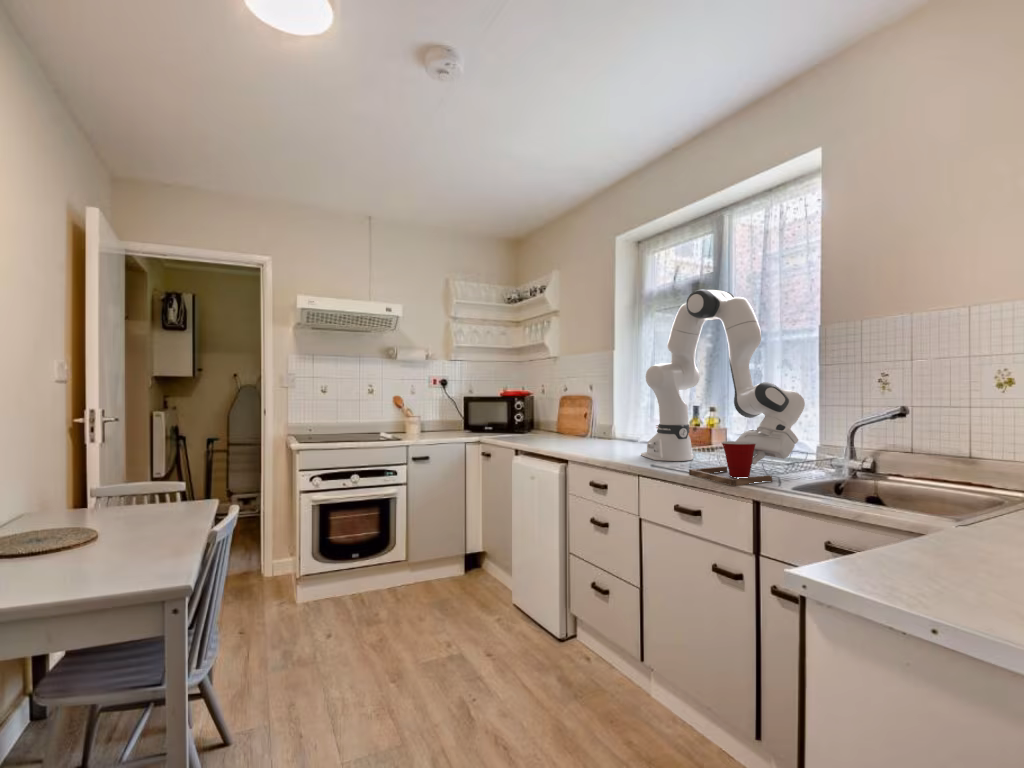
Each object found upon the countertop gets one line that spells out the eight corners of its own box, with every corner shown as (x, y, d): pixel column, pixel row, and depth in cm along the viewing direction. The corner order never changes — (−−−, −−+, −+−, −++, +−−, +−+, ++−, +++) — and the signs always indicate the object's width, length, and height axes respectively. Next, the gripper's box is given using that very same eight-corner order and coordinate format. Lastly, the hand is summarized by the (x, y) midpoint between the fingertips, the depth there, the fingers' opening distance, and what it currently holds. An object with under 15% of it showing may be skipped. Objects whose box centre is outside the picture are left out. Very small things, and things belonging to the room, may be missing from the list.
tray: (689, 474, 170) (689, 469, 170) (724, 471, 175) (724, 466, 175) (733, 486, 151) (733, 480, 151) (772, 481, 156) (771, 475, 156)
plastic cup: (752, 474, 168) (751, 438, 168) (762, 480, 158) (761, 442, 158) (718, 473, 171) (717, 438, 170) (725, 480, 160) (724, 442, 160)
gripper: (742, 423, 178) (721, 452, 175) (792, 427, 159) (769, 460, 156) (752, 434, 180) (731, 464, 176) (803, 440, 161) (781, 473, 157)
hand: (750, 462), depth 166 cm, fingers closed, pressing on plastic cup
